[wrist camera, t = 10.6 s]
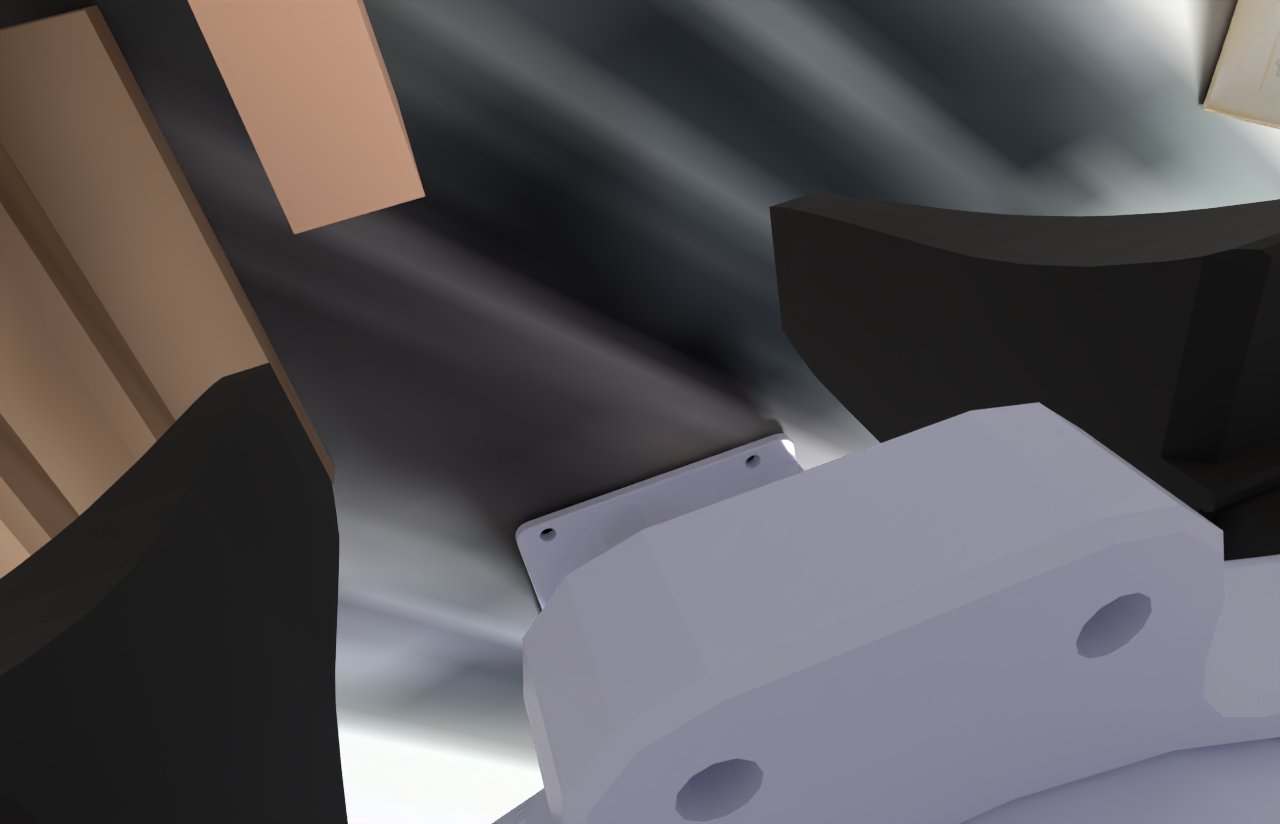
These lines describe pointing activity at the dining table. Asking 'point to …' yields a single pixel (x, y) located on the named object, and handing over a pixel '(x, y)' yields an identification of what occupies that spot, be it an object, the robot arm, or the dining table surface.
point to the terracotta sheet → (314, 104)
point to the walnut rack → (99, 281)
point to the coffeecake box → (1249, 66)
